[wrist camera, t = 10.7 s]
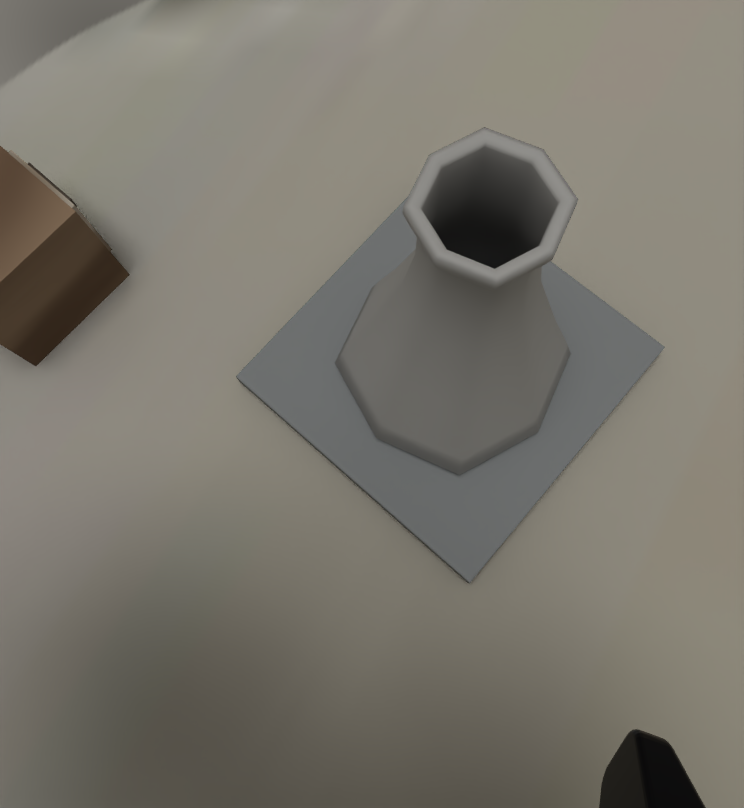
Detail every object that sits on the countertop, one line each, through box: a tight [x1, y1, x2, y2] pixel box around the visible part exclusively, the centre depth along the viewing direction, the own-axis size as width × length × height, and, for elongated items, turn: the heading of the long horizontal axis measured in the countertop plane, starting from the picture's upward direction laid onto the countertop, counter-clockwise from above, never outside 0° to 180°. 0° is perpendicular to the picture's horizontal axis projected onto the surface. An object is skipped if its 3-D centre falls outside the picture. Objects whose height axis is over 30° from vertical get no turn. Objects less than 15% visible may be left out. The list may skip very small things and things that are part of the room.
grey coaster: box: [236, 197, 665, 583], centre depth 24 cm, size 10×10×1 cm
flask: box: [335, 127, 578, 475], centre depth 19 cm, size 7×7×10 cm
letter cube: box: [0, 146, 129, 366], centre depth 23 cm, size 4×5×4 cm
